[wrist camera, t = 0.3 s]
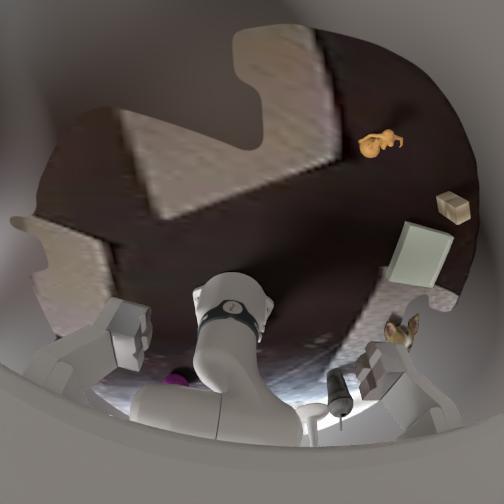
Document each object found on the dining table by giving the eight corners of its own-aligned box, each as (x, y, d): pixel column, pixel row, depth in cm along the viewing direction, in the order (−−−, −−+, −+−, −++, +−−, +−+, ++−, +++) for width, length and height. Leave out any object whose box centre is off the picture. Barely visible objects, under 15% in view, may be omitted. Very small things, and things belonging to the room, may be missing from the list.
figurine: (346, 155, 51) (367, 165, 40) (346, 124, 48) (368, 127, 37) (384, 157, 50) (412, 168, 40) (385, 128, 48) (414, 132, 37)
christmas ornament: (193, 373, 79) (187, 399, 70) (188, 387, 83) (183, 412, 74) (167, 365, 78) (159, 390, 69) (164, 380, 82) (156, 404, 73)
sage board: (427, 282, 63) (432, 288, 61) (384, 275, 62) (388, 281, 60) (448, 233, 57) (454, 237, 54) (405, 221, 56) (410, 225, 54)
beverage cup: (348, 375, 78) (361, 428, 60) (326, 383, 80) (336, 437, 62) (341, 362, 76) (355, 419, 58) (318, 371, 77) (327, 428, 59)
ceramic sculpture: (384, 375, 66) (394, 334, 60) (375, 354, 74) (382, 314, 68) (417, 367, 65) (430, 325, 60) (407, 348, 73) (416, 307, 68)
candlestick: (335, 409, 87) (347, 482, 60) (308, 424, 92) (315, 493, 65) (312, 399, 84) (321, 479, 57) (285, 414, 89) (288, 489, 62)
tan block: (451, 206, 54) (470, 218, 47) (438, 212, 55) (457, 225, 48) (448, 190, 52) (468, 201, 45) (436, 196, 53) (455, 207, 46)
